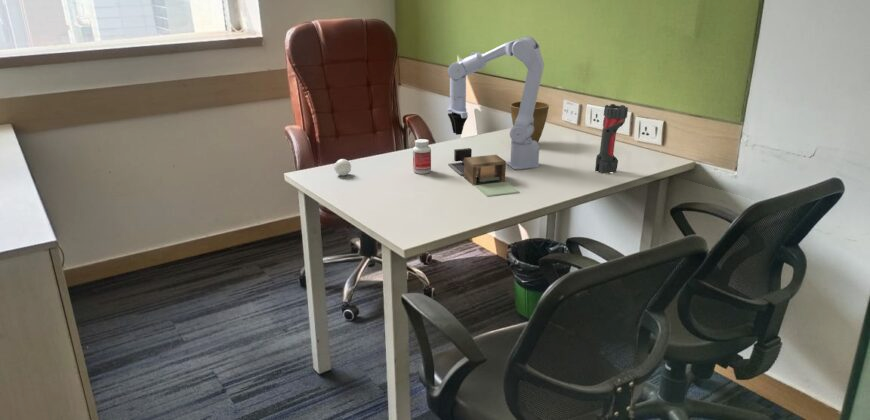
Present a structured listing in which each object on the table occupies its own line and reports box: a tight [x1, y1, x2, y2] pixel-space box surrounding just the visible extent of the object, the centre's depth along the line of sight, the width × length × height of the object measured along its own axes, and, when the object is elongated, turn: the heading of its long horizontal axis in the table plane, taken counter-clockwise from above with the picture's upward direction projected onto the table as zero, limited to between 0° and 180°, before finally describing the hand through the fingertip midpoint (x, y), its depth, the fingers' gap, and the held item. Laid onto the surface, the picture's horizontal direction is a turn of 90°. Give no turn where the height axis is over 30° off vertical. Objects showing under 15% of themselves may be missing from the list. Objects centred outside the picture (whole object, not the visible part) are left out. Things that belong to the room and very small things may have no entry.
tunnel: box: [463, 154, 507, 186], centre depth 214 cm, size 11×8×7 cm
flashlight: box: [594, 103, 629, 174], centre depth 219 cm, size 8×8×23 cm
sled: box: [453, 147, 500, 183], centre depth 221 cm, size 7×26×5 cm, turn 19°
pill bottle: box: [412, 138, 432, 175], centre depth 221 cm, size 6×6×11 cm
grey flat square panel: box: [447, 161, 464, 177], centre depth 226 cm, size 12×13×1 cm
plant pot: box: [509, 101, 550, 144], centre depth 253 cm, size 15×15×16 cm
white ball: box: [334, 158, 352, 177], centre depth 220 cm, size 8×6×6 cm
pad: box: [474, 181, 520, 197], centre depth 206 cm, size 11×10×1 cm
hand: (457, 133), depth 235 cm, fingers closed
